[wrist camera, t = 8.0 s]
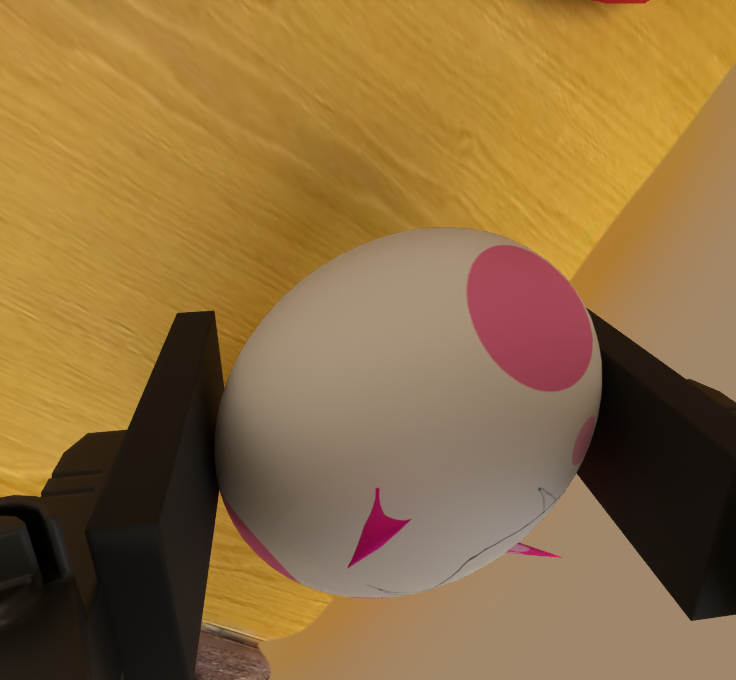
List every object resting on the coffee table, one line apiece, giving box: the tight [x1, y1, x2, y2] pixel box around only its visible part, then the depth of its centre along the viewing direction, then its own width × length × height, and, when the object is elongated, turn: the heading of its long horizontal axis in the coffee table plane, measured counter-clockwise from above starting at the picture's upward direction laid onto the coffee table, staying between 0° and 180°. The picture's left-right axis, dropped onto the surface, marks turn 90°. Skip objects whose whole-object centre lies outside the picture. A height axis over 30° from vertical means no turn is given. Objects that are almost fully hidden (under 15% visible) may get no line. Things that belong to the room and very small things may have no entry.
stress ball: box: [214, 227, 602, 598], centre depth 11 cm, size 8×8×7 cm
